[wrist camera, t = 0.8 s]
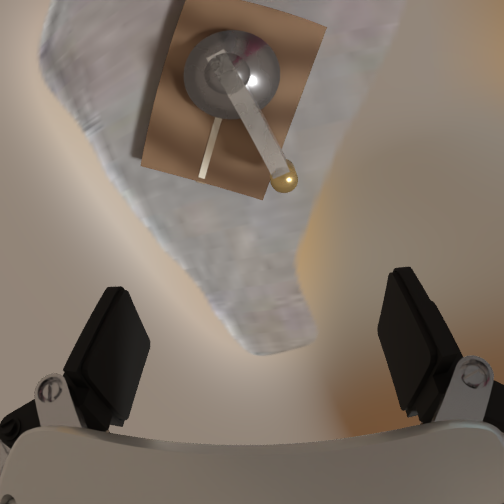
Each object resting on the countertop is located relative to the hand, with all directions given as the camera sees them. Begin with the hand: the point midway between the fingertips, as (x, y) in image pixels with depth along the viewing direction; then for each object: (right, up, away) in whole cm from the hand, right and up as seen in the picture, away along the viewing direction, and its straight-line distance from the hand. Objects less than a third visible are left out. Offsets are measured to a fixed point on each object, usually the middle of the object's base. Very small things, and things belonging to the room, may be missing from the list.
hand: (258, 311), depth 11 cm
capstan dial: (0, +16, +17) cm, 24 cm away
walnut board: (-3, +19, +18) cm, 26 cm away
